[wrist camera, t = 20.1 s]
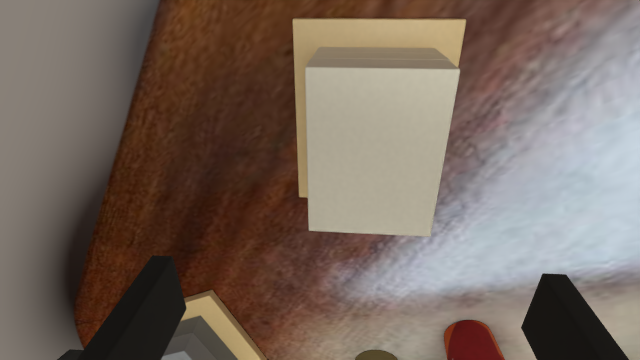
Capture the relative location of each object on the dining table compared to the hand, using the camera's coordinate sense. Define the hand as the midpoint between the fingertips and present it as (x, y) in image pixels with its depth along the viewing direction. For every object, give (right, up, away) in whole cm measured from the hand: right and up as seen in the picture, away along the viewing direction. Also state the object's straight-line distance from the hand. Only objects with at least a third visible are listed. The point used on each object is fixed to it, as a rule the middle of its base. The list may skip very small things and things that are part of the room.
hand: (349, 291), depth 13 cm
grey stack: (-17, -18, +35) cm, 43 cm away
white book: (+3, +7, +13) cm, 15 cm away
